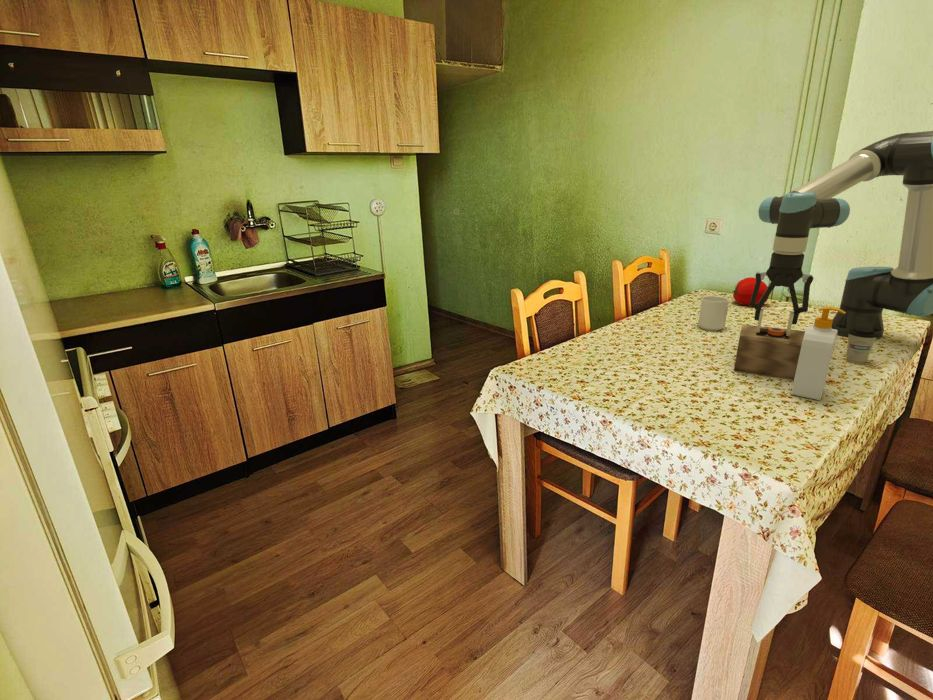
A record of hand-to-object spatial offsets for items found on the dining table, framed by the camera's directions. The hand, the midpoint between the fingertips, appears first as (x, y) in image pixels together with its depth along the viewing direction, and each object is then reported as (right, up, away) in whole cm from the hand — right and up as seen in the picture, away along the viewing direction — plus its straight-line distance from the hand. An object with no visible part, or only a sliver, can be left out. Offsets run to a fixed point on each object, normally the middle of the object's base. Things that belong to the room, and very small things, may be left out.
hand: (772, 332), depth 139 cm
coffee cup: (+29, -8, +7) cm, 31 cm away
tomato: (+34, +15, +70) cm, 79 cm away
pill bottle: (+1, -10, +3) cm, 10 cm away
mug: (+4, +4, +42) cm, 43 cm away
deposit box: (0, -10, +4) cm, 11 cm away
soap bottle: (+2, -16, -12) cm, 21 cm away
